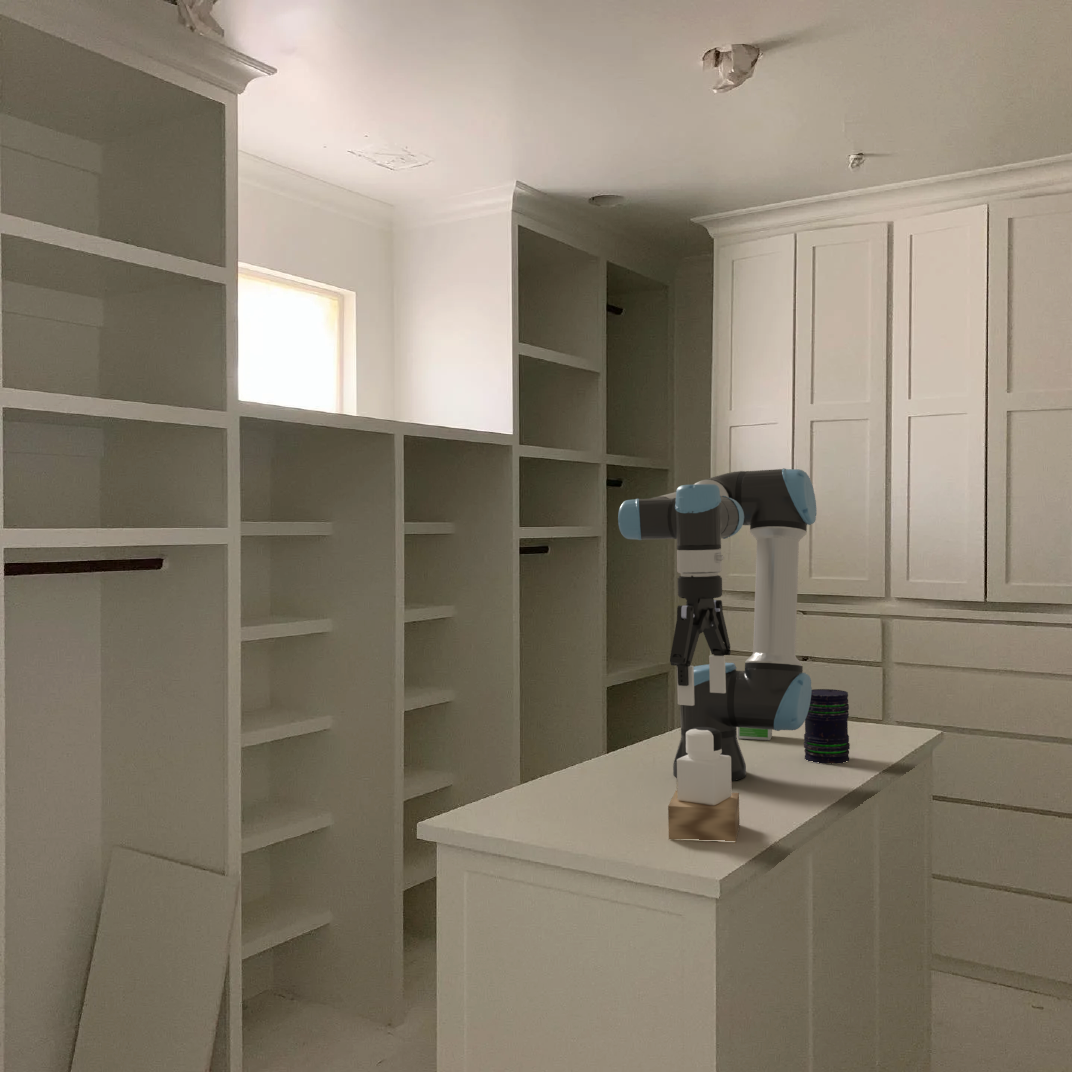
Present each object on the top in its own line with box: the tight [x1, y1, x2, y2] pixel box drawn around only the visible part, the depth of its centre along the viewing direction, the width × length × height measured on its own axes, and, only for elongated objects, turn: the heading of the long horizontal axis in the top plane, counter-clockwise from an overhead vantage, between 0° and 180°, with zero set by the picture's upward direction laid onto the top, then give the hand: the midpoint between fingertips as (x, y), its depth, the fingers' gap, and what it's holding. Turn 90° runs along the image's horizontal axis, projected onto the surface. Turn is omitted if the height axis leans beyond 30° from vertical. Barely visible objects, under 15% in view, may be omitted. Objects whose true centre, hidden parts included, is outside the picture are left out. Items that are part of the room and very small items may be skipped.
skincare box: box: [737, 727, 773, 741], centre depth 265 cm, size 8×7×16 cm
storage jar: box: [803, 688, 851, 765], centre depth 239 cm, size 10×10×15 cm
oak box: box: [667, 789, 741, 842], centre depth 183 cm, size 11×11×6 cm
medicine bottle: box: [676, 727, 733, 806], centre depth 183 cm, size 7×7×12 cm
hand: (702, 698), depth 183 cm, fingers open, 13 cm apart
